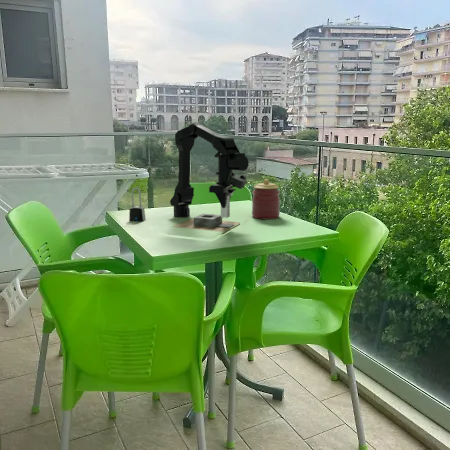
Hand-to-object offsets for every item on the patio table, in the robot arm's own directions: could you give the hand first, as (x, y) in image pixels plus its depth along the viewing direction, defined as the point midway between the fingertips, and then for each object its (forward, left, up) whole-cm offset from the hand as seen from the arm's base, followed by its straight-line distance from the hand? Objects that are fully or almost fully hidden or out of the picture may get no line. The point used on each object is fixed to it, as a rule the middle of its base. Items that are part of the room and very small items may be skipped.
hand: (225, 207), depth 171 cm
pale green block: (0, 0, -4) cm, 4 cm away
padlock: (-43, -1, -9) cm, 44 cm away
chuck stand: (-8, 0, -9) cm, 12 cm away
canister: (+8, +29, -9) cm, 31 cm away
